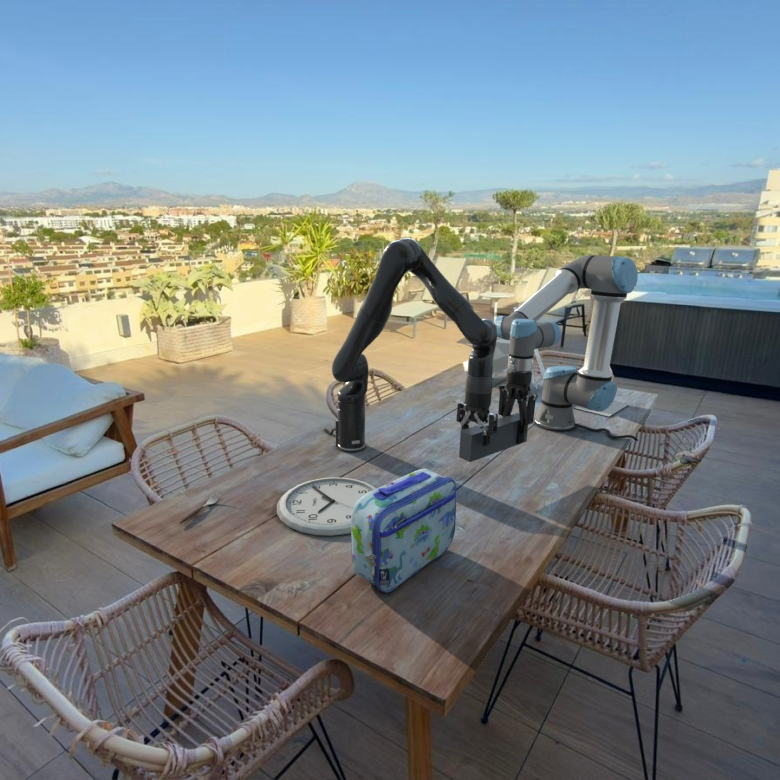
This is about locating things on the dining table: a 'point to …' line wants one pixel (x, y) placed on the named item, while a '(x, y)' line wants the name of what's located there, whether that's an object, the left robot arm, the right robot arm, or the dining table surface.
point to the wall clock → (322, 505)
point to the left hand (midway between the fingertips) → (475, 441)
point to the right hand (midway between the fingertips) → (513, 439)
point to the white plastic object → (502, 359)
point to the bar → (498, 441)
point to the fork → (209, 502)
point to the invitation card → (609, 411)
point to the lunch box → (402, 527)
